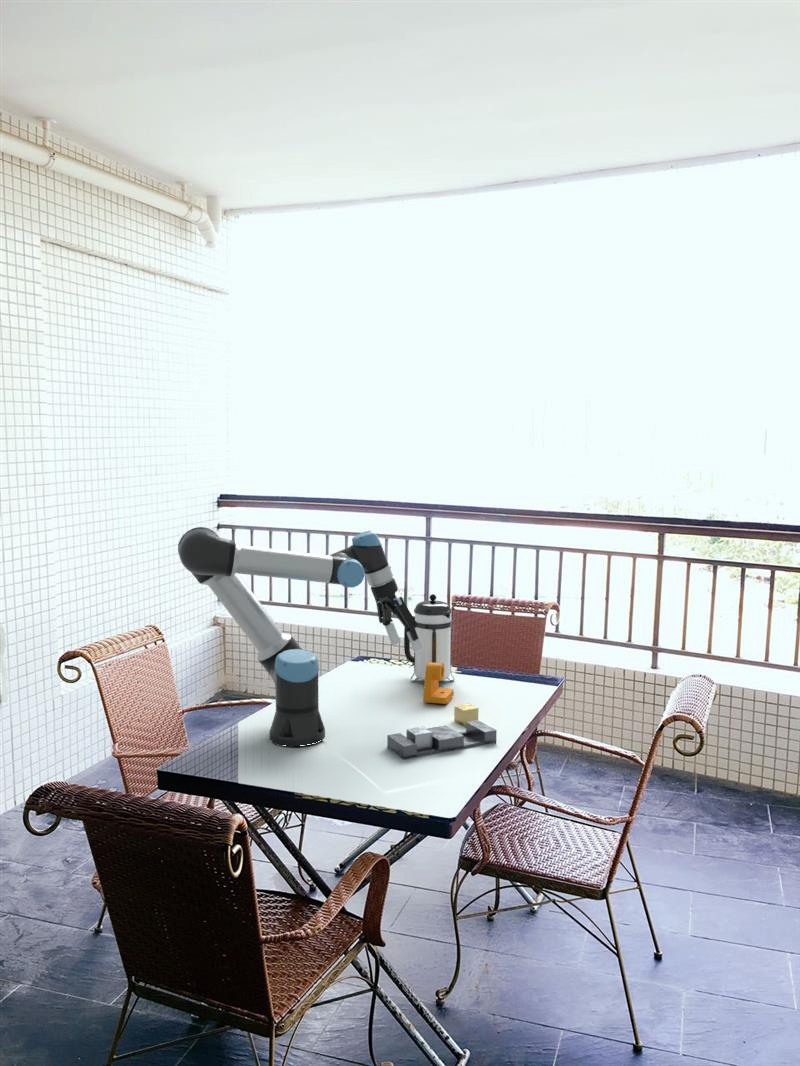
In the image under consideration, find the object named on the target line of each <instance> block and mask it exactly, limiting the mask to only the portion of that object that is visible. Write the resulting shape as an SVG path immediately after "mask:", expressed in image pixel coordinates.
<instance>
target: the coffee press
mask: <svg viewBox="0 0 800 1066" xmlns="http://www.w3.org/2000/svg"><path fill="white" fill-rule="evenodd" d="M436 599H437V596H436V595H435V593H432V594H430V595H429V600H424V601H421V602H418V603H417V604H416V605H415V608H414V609H413V613H414V616H413V618H414V619H415V621H416V623H417V624H418V627H416V628H415V629H416V632H417V635H418V637H419V640H420V642H421V645H422V648H421V649H419V650H417V651H416V652H414V651H413V656H412V653H411V651H410V650H411V648H410V647H411V643H410V640H409V638H408V635H407V633H406V628H405V627H404V630H403V632H404V634H403V635H404V636H403V637H404V638H403V639H404V640H403V641H404V642H403V643H404V644H403V645H404V647H403V648H404V649H403V650H404V655H405V658H406V659H407V660H408V662H410V663H412V664H413V674H412V675H411V676H410V682H411V681H414V682H415V681H417V680H420V681H425V673H426V666H427V663H428V662H432V663H443V664H444V669H445V670H444V678H443V680H442V681H445V680H449V681H450V682H451V681H453V682H455V677H454V676H453V674H452V612H453V609H452V608H451V606H450V605H449V603H447V602H445V601H441V600H436ZM414 676H415V677H416V678H415V679H413V678H414ZM450 676H451V678H452V679H450V678H449V677H450ZM412 679H413V680H412ZM438 682H441V681H440V680H438Z"/></svg>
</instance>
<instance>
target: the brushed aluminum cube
mask: <svg viewBox="0 0 800 1066" xmlns="http://www.w3.org/2000/svg"><path fill="white" fill-rule="evenodd" d="M405 737H407V738H408V739H410V740H411V741H413V742H414V743H416V744H417V752H420V751H426V750H431V749H432V732H431V731H430V730H428V729H427V727H425V726H419V727H418V726H417V727H412V728H407V729H406V736H405Z"/></svg>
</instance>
